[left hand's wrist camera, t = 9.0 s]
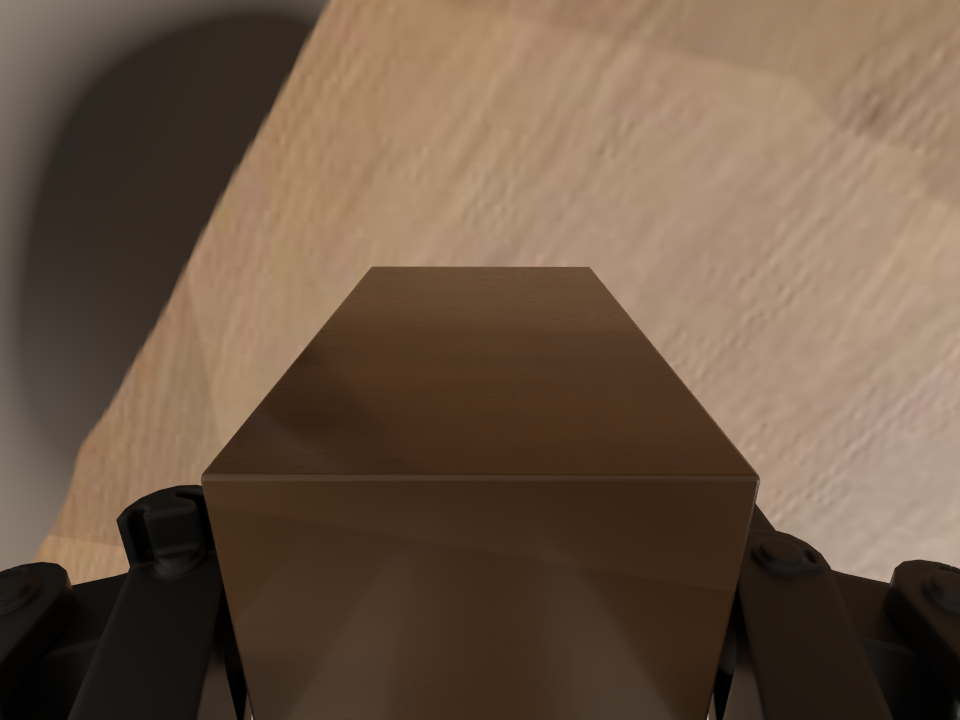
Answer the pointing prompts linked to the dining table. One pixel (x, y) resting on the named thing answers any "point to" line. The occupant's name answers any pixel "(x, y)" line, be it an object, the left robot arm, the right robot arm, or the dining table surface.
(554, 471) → the bar
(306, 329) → the dining table surface
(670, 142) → the dining table surface
